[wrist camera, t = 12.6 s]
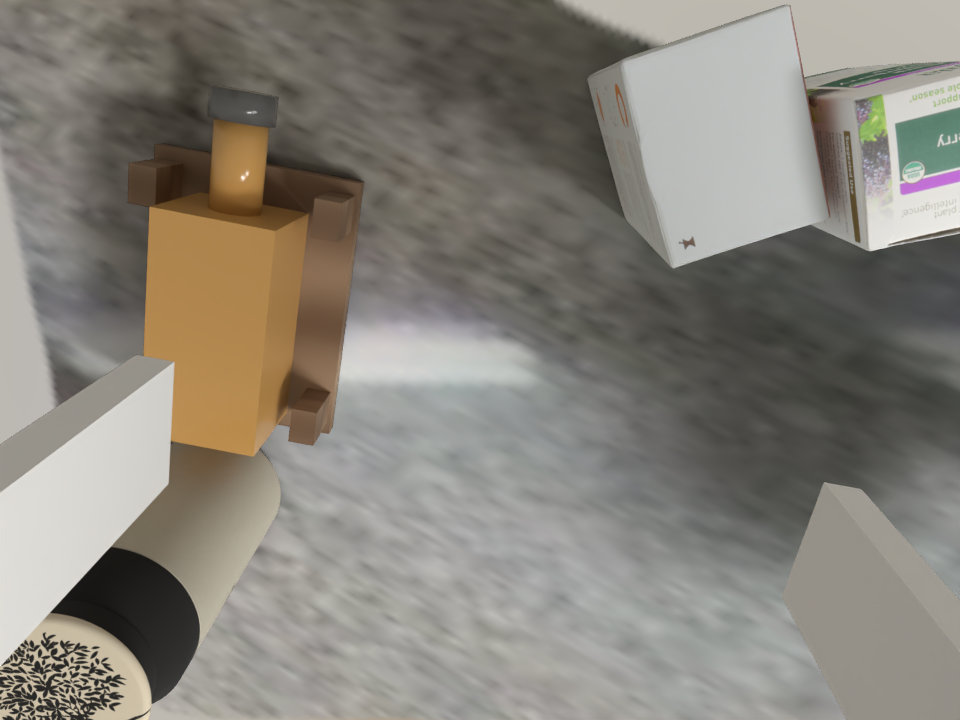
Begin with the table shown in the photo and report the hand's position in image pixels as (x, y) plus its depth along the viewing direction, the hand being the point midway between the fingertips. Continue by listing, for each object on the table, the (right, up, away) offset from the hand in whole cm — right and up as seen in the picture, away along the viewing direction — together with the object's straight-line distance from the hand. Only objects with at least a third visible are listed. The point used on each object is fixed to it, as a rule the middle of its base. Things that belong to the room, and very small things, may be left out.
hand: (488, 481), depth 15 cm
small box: (+10, +15, +25) cm, 31 cm away
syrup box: (+17, +14, +25) cm, 33 cm away
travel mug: (-17, -5, +33) cm, 38 cm away
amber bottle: (-13, +8, +27) cm, 31 cm away
